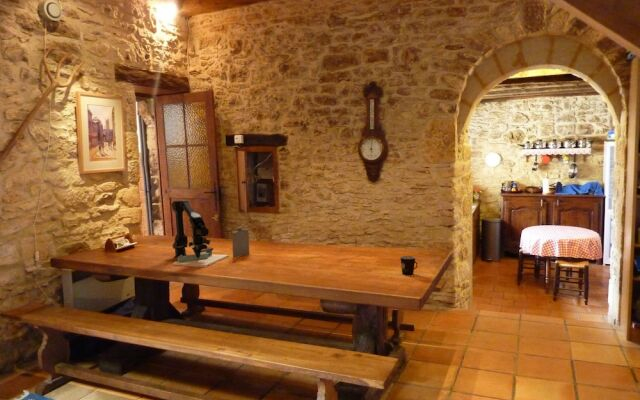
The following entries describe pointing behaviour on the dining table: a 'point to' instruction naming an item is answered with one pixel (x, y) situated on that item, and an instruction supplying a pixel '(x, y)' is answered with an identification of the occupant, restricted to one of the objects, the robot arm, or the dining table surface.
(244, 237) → the hip flask
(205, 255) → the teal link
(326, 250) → the dining table surface
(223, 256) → the cream base plate
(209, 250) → the iron keeper
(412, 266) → the coffee mug
